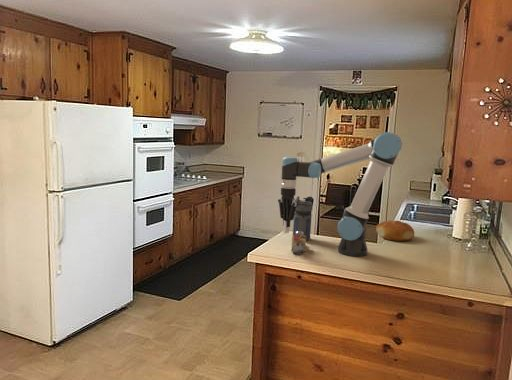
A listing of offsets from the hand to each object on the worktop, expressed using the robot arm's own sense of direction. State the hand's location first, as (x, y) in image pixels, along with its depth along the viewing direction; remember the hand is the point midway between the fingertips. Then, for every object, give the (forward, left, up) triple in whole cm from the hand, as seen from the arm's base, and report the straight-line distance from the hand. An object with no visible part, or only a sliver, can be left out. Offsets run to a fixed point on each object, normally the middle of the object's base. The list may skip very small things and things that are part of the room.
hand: (286, 232), depth 215 cm
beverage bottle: (-8, -26, -9) cm, 29 cm away
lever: (-6, +2, -2) cm, 7 cm away
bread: (-63, -48, -10) cm, 80 cm away
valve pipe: (-7, -3, -9) cm, 12 cm away
